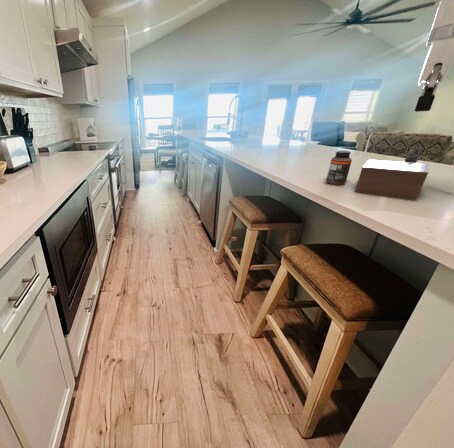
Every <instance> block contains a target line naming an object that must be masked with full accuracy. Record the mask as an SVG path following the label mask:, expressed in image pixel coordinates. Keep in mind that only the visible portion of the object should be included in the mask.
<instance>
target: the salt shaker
mask: <svg viewBox="0 0 454 448" xmlns="http://www.w3.org/2000/svg"><path fill="white" fill-rule="evenodd" d="M420 154H421V150H420V149H419V148H418V146H417V145H416V146H414V148H411V149H410V150H408V153H407V156H406V158H404V162H411V163H418V161H419V157H420Z"/></svg>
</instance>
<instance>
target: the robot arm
mask: <svg viewBox="0 0 454 448" xmlns="http://www.w3.org/2000/svg"><path fill="white" fill-rule="evenodd" d="M425 46H426V47H430V48H429V49H428V52H427V55H426V57H425V60H424V63H423V66H422V70H421V73H420V76H419V79H418V83H417V85H418V86H421V85H422V84H423V83H424V84H423V87H422V91H421V94H420V96H419V97H418V99H417V103H416V105H415V108H414V112H416V113H417V112H429V111H431V109H432V107H433V103H434V100H435V97H436V95H435V94H436V92H437V89H438V86H439V85H440V84H441V83H442V82H444V80H445V78H446V76H447V74H448V72H449V70H450V68H451V66H452V64H453V62H454V0H440V1H439V4H438V7H437V10H436V13H435V17H434V20H433V22H432V25H431V29H430V32H429V36H428V38H427V41H426V44H425Z"/></svg>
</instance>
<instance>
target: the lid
mask: <svg viewBox="0 0 454 448" xmlns="http://www.w3.org/2000/svg"><path fill="white" fill-rule="evenodd" d="M362 169H370V170H381V171H392V172H404V173H415V174H426V175H427V176H428V175H429V163H423V162H416V163H411V162H405V161H395V160H394V161H393V160H381V159H380V160H379V159H368V160H367V161H366V162H365V164H363V166H361V170H362Z"/></svg>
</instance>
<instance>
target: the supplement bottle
mask: <svg viewBox="0 0 454 448" xmlns="http://www.w3.org/2000/svg"><path fill="white" fill-rule="evenodd" d="M350 156H351V151H350V150H337V151H335V155H334V156H333V157H332V158H331V160H330V163H329V167H328V171H327V175H326V179H325V182H326V183H327V184H329V185H334V186H343V185H345V184H346V183H347V179H348V177H349V176H348V175H349V172H350V169H351V165H352V158H351V157H350Z"/></svg>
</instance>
